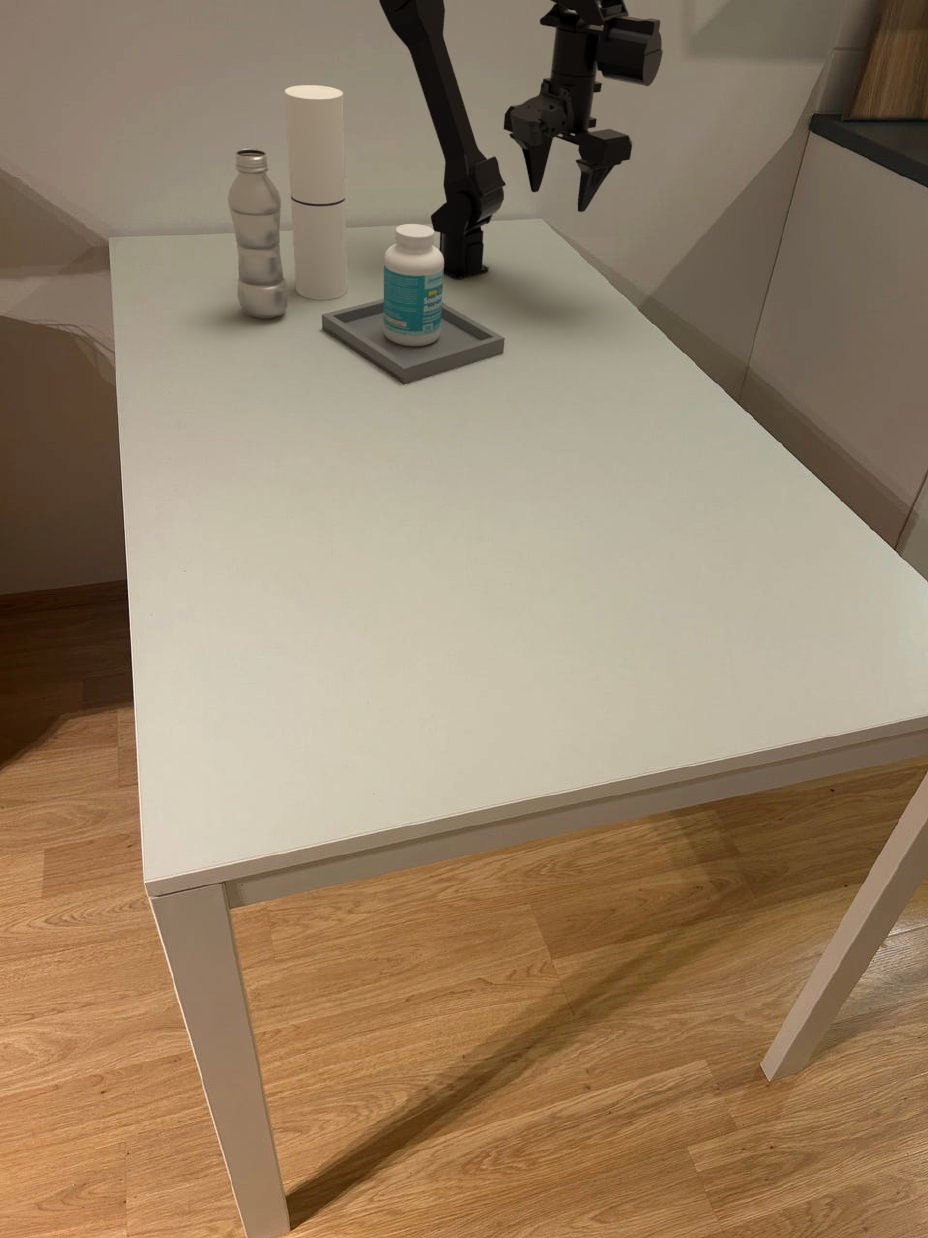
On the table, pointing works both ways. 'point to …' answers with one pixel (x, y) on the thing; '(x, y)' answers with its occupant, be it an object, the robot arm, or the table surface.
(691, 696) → the table surface
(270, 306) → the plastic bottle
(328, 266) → the cylindrical container
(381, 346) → the tray
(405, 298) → the pill bottle
